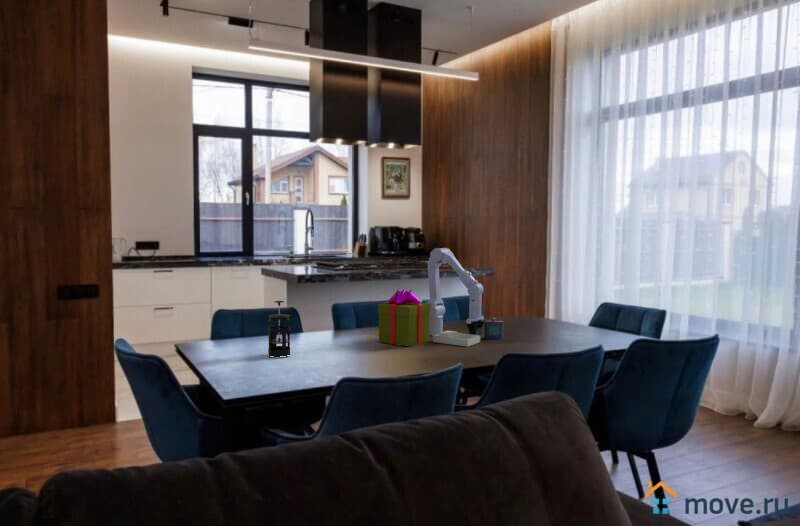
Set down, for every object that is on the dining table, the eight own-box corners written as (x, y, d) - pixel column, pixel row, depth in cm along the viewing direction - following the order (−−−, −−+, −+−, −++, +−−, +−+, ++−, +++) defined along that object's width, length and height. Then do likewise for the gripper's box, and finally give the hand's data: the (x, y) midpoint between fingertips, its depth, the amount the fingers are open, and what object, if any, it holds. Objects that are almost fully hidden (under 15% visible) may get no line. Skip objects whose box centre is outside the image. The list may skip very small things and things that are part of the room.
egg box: (439, 341, 271) (439, 332, 270) (447, 338, 277) (447, 330, 277) (448, 342, 268) (448, 334, 268) (456, 339, 274) (457, 331, 274)
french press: (295, 356, 238) (295, 301, 237) (274, 359, 233) (274, 303, 231) (282, 351, 248) (282, 298, 246) (262, 354, 242) (261, 300, 241)
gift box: (393, 336, 285) (393, 286, 283) (432, 340, 276) (433, 288, 274) (374, 344, 266) (374, 290, 265) (415, 348, 257) (415, 292, 256)
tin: (468, 340, 276) (468, 328, 276) (472, 339, 280) (472, 326, 280) (477, 341, 274) (477, 329, 273) (481, 340, 277) (481, 327, 277)
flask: (502, 338, 281) (503, 317, 281) (503, 340, 278) (504, 318, 278) (483, 338, 282) (484, 316, 281) (484, 339, 279) (484, 317, 278)
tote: (432, 342, 270) (432, 335, 269) (446, 338, 281) (446, 331, 280) (467, 347, 259) (467, 339, 259) (480, 343, 270) (480, 335, 270)
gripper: (476, 310, 268) (475, 339, 268) (489, 307, 280) (489, 335, 280) (462, 309, 272) (462, 338, 272) (476, 306, 284) (476, 333, 284)
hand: (474, 336), depth 277 cm, fingers closed on tin, 4 cm apart
